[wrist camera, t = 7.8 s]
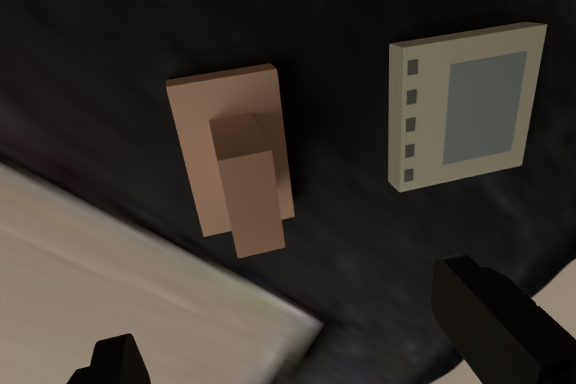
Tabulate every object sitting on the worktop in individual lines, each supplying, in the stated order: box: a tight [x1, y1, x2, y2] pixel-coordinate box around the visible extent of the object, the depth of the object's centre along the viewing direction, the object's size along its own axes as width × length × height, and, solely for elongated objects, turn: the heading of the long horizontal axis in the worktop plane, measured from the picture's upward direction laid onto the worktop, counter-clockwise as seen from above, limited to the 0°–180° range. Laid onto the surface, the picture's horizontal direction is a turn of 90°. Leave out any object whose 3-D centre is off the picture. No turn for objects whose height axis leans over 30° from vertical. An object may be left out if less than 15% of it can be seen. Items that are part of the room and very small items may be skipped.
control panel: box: [388, 22, 547, 192], centre depth 23 cm, size 8×8×2 cm
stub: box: [166, 63, 295, 258], centre depth 19 cm, size 5×8×6 cm, turn 6°
